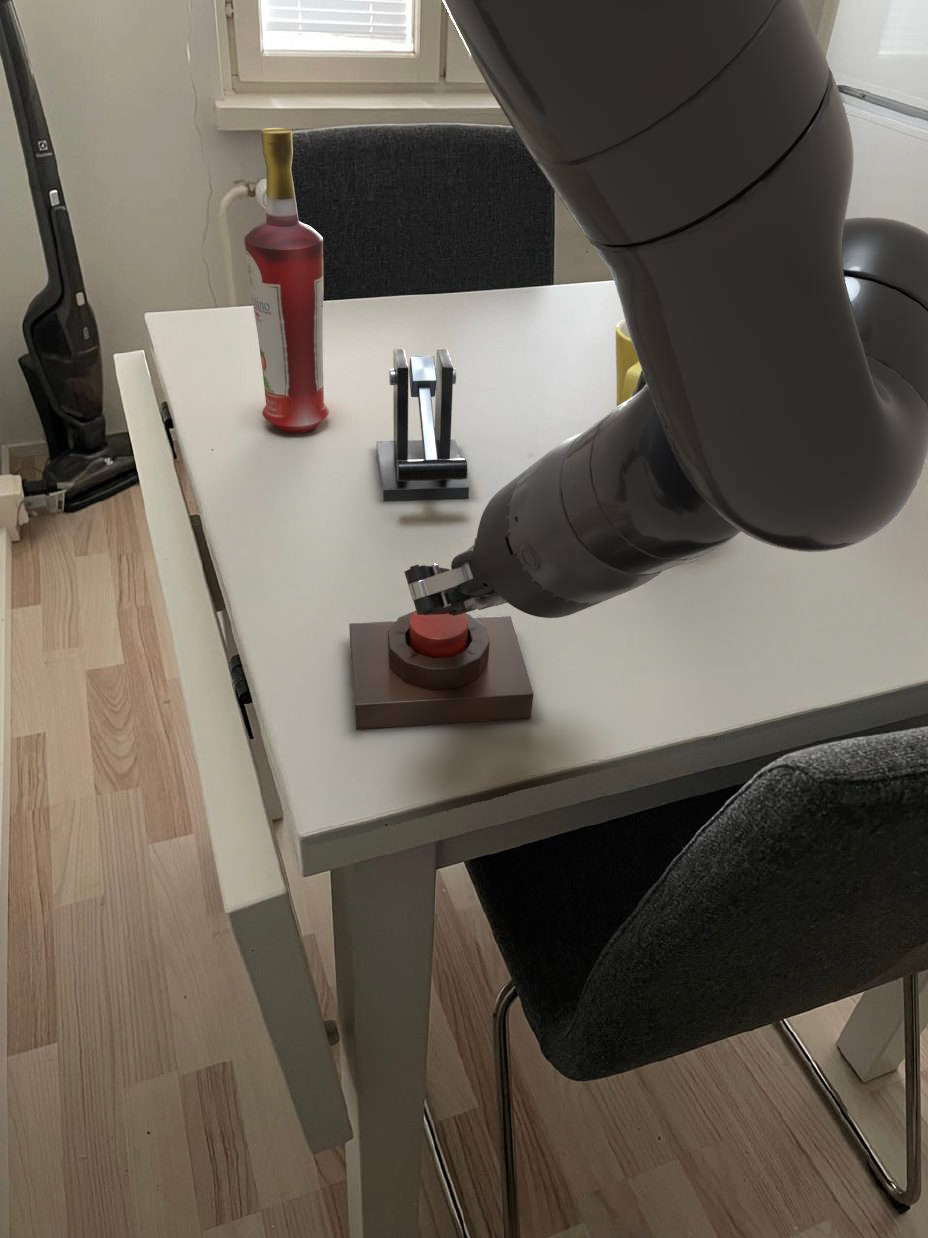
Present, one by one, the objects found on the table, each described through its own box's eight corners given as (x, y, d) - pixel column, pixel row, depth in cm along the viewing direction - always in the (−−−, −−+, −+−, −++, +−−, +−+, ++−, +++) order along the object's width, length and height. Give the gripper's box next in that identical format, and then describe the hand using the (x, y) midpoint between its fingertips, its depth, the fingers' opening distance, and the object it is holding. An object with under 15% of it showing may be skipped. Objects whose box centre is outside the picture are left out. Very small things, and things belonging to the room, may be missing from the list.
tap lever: (465, 485, 84) (468, 470, 82) (397, 487, 84) (398, 472, 81) (452, 372, 89) (454, 355, 87) (388, 372, 88) (389, 356, 86)
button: (412, 661, 64) (412, 640, 63) (407, 625, 68) (407, 605, 67) (470, 657, 65) (472, 637, 64) (463, 622, 68) (464, 602, 67)
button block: (355, 729, 64) (354, 684, 62) (350, 646, 71) (348, 603, 69) (531, 718, 66) (536, 673, 63) (508, 638, 73) (512, 595, 70)
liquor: (252, 415, 102) (223, 124, 86) (316, 404, 105) (301, 121, 88) (274, 443, 97) (249, 140, 80) (341, 431, 100) (330, 136, 83)
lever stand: (468, 498, 90) (474, 378, 83) (383, 501, 89) (382, 380, 82) (454, 449, 98) (459, 337, 91) (376, 451, 97) (375, 337, 90)
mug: (636, 396, 111) (650, 306, 104) (714, 424, 105) (734, 330, 99) (566, 432, 102) (577, 336, 96) (647, 464, 97) (665, 365, 91)
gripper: (668, 428, 49) (526, 521, 64) (435, 477, 43) (343, 566, 59) (715, 568, 48) (560, 628, 64) (485, 635, 43) (378, 682, 59)
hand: (456, 598), depth 62 cm, fingers closed
